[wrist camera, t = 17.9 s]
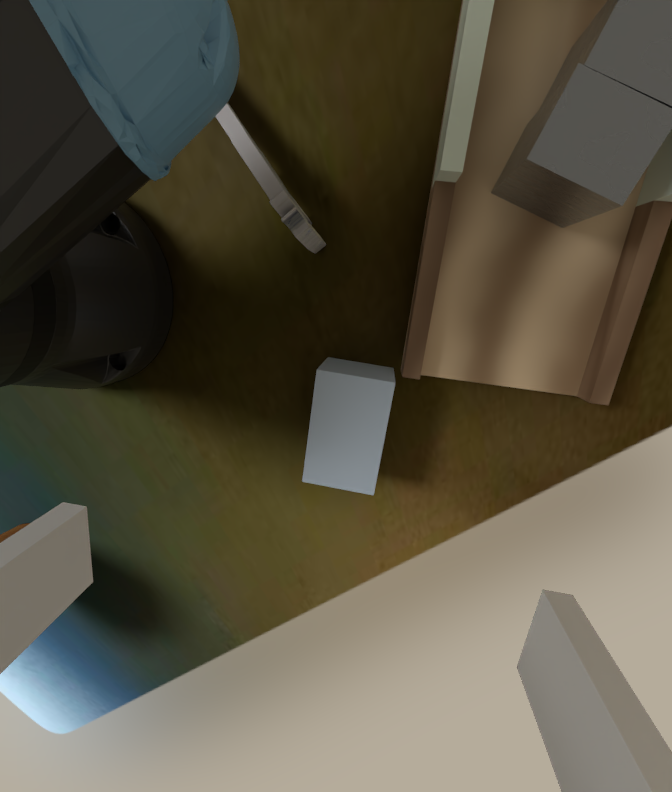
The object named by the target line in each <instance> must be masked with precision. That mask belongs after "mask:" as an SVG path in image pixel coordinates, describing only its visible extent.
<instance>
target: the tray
mask: <svg viewBox="0 0 672 792" xmlns="http://www.w3.org/2000/svg"><path fill="white" fill-rule="evenodd" d="M494 1H495V0H463V5H462V11H461V17H460V23H459V29H458V35H457V41H456V47H455V53H454V59H453V65H452V71H451V76H450V82H449V88H448V94H447V100H446V106H445V112H444V118H443V124H442V130H441V136H440V142H439V148H438V154H437V160H436V166H435V172H434V178H433V184H434V182H435V181H446V182H456V181H457V180H458V178H459V177H460V175H461V174H462V172H463V167H464V162H465V156H466V151H467V146H468V140H469V135H470V129H471V124H472V119H473V113H474V108H475V103H476V97H477V92H478V86H479V81H480V76H481V70H482V65H483V60H484V54H485V49H486V43H487V38H488V33H489V27H490V22H491V17H492V11H493V6H494ZM433 184H432V187H433ZM654 200H656V201H668V202H672V129H671V131H670V132H669V134H668V135H667V137H666V139H665V140H664V142H663V143H662V145H661V146H660V148H659V149H658V151H657V153H656V154H655V156H654V157H653V159H652V160H651V162H650V164H649V165H648V169H647V172H646V175H645V178H644V181H643V185H642V188H641V191H640V194H639V198H638V201H637V204H636V207H637V206H639V205H642V204H645V203H648V202H651V201H654Z"/></svg>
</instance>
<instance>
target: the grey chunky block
mask: <svg viewBox="0 0 672 792" xmlns="http://www.w3.org/2000/svg"><path fill="white" fill-rule="evenodd" d="M578 63H580V64H582V65H584V66H586V67H588V68H590V69H592V70H595V71H597V72H599V73H601V74H603V75H605V76H607V77H609V78H611V79H613V80H615V81H617V82H619V83H621V84H623V85H625V86H627V87H629V88H631V89H633V90H635V91H637V92H639V93H641V94H643V95H645V96H648V97H650V98H652V99H654V100H656V101H658V102H660V103H662V104H664V105H666V106H668V107H670V108H672V0H608V1H607V2H606V3H605V4H604V6H603V7H602V8H601V10H600V11H599V12H598V14H597V15H596V16H595V18H594V19H593V20H592V21H591V23H590V24H589V25H588V27H587V28H586V29H585V31H584V32H583V33H582V35H581V36H580V37H579V39H578V40H577V41H576V42H575V44H574V45H573V46H572V48H571V49H570V51H569V53H568V55H567V57H566V59H565V61H564V63H563V65H562V67H561V69H560V70H559V72H558V74H557V76H556V78H555V80H554V82H553V84H552V86H551V88H550V90H549V92H548V94H547V96H546V97H545V99H544V101H543V103H542V105H541V107H542V106H543V105H544V104H545V102H546V101H547V100H548V99H549V98H550V96H551V95H552V94H553V93H554V92H555V91H556V89H557V88H558V87H559V86H560V85H561V83H562V82H563V81H564V80H565V79H566V78H567V76H568V75H569V74H570V73H571V72H572V70H573V69H574V68H575V67H576V66H577V65H578ZM541 107H540V108H541Z"/></svg>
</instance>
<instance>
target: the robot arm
mask: <svg viewBox="0 0 672 792" xmlns="http://www.w3.org/2000/svg"><path fill="white" fill-rule="evenodd" d="M238 72H239V45H238V37H237V33H236V28H235V24H234V20H233V17H232V13H231V10H230V7H229V5H228V2H227V0H0V387H2V386H6V385H10V384H12V385H27V386H41V387H55V388H70V389H88V388H96V387H101V386H105V385H108V384H111V383H114V382H117V381H120V380H123V379H126V378H129V377H131V376H133V375H135V374H136V373H138V372H140V371H141V370H142V369H144V368H145V367H146V366H147V365H148V364H149V363H150V362H151V361H152V360H153V359H154V358H155V356H156V355H157V354H158V352H159V351H160V349H161V348H162V346H163V344H164V342H165V339H166V337H167V334H168V331H169V328H170V324H171V319H172V311H173V291H172V283H171V278H170V274H169V269H168V266H167V263H166V260H165V258H164V255H163V253H162V250H161V248H160V246H159V244H158V242H157V241H156V239H155V237H154V235H153V234H152V232H151V231H150V229H149V228H148V227H147V225H146V224H145V223H144V221H143V220H142V219H141V218H140V217H139V216H138V215H137V213H136V212H135V211H134V210H133V209H131V208H130V207H129V206H128V205H127V204H126V203H125V201H126V200H128V199H129V198H130V197H131V196H132V195H133V194H134V193H136V192H137V191H138V190H139V189H140V188H141V187H142V186H144V185H145V184H146V183H147V182H148V181H149V180H150V179H152V180H154V181H156V180H157V179H161V178H163V177H164V176H166V175H167V174H168V173H169V171H170V167H171V160H172V159H173V158H174V157H175V156H176V155H177V154H178V153H179V152H180V151H181V150H182V149H183V148H184V147H185V146H186V145H187V144H188V143H189V142H190V141H191V140H192V139H193V138H194V137H195V136H196V135H197V134H198V133H199V132H200V131H201V130H202V129H203V128H204V127H205V126H206V125H207V124H208V123H209V122H210V121H211V120H212V119H213V118H214V117H215V116H216V115H217V114H218V113H219V112H220V111H221V110H222V109H223V108H224V106H225V105H226V104H227V102H228V101H229V99H230V97H231V95H232V93H233V91H234V88H235V85H236V82H237V77H238ZM92 583H93V573H92V561H91V550H90V539H89V527H88V516H87V507H86V506H81V505H75V504H70V503H64V502H63V503H61V504H60V505H58V506H56V507H55V508H53V509H52V510H50V511H49V512H47V513H46V514H44V515H43V516H41V517H40V518H38V519H36V520H35V521H33V522H32V523H30V524H29V525H27V526H26V527H24V528H23V529H21V530H19V531H18V532H16V533H15V534H13V535H12V536H10V537H9V538H7V539H6V540H4V541H3V542H1V543H0V674H1V673H2V672H3V671H4V670H5V669H6V668H7V667H8V666H9V665H10V664H11V663H12V662H13V661H14V660H15V659H16V658H17V657H18V656H19V655H20V654H21V653H22V652H23V651H24V650H25V649H26V648H27V647H28V646H29V645H30V644H31V643H32V642H33V641H34V640H35V639H36V638H37V637H38V636H39V635H40V634H41V633H42V632H43V631H44V630H45V629H46V628H47V627H48V626H49V625H50V624H51V623H52V622H53V621H54V620H55V619H56V618H57V617H58V616H59V615H60V614H61V613H62V612H63V611H64V610H65V609H66V608H67V607H68V606H69V605H70V604H71V603H72V602H73V601H74V600H75V599H76V598H77V597H78V596H79V595H80V594H81V593H82V592H83V591H84V590H85V589H86V588H87V587H89V586H90V585H91V584H92ZM517 669H518V671H519V674H520V677H521V680H522V683H523V685H524V688H525V691H526V694H527V697H528V699H529V702H530V705H531V708H532V710H533V713H534V716H535V719H536V722H537V724H538V727H539V730H540V733H541V735H542V738H543V741H544V744H545V747H546V749H547V752H548V755H549V758H550V761H551V763H552V766H553V769H554V772H555V775H556V777H557V780H558V783H559V786H560V788H561V791H562V792H672V752H671V750H670V749H669V747H668V745H667V744H666V742H665V741H664V739H663V738H662V736H661V734H660V733H659V731H658V730H657V728H656V726H655V725H654V723H653V722H652V720H651V718H650V717H649V715H648V714H647V712H646V711H645V709H644V707H643V706H642V704H641V703H640V701H639V700H638V698H637V696H636V695H635V693H634V692H633V690H632V689H631V687H630V685H629V684H628V682H627V681H626V679H625V677H624V676H623V674H622V672H621V671H620V669H619V668H618V666H617V665H616V663H615V661H614V660H613V658H612V657H611V655H610V653H609V652H608V650H607V649H606V647H605V645H604V644H603V642H602V641H601V639H600V638H599V636H598V635H597V633H596V631H595V630H594V628H593V626H592V625H591V623H590V622H589V620H588V619H587V617H586V615H585V614H584V612H583V611H582V609H581V608H580V606H579V604H578V603H577V601H576V599H575V598H574V596H573V595H570V594H564V593H558V592H553V591H547V590H542V593H541V596H540V599H539V602H538V606H537V608H536V611H535V614H534V617H533V620H532V623H531V626H530V629H529V632H528V635H527V638H526V641H525V644H524V647H523V650H522V653H521V656H520V659H519V663H518V665H517Z"/></svg>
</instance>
